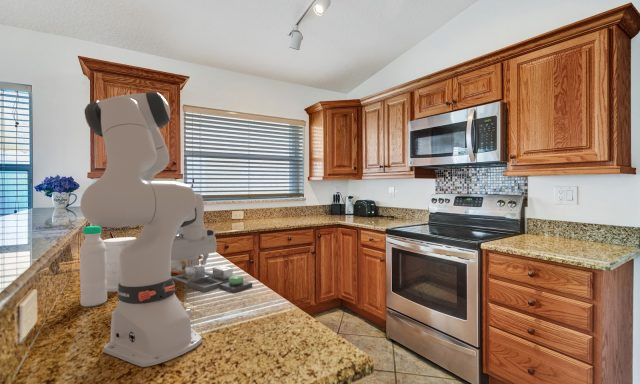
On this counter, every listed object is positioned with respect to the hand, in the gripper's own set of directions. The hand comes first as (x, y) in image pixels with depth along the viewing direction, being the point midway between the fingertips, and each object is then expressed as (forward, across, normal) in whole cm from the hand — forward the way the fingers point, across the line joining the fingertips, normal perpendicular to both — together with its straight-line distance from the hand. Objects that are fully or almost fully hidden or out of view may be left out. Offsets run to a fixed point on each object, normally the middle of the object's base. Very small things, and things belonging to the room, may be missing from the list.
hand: (192, 267), depth 125 cm
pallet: (+5, 0, -14) cm, 15 cm away
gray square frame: (+5, 0, -1) cm, 5 cm away
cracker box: (+6, +4, +13) cm, 15 cm away
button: (+4, +2, -25) cm, 25 cm away
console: (+5, +2, -25) cm, 25 cm away
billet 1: (+5, 0, -1) cm, 5 cm away
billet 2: (+4, +4, -14) cm, 15 cm away
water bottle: (+6, -32, +4) cm, 33 cm away
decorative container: (+6, -20, +15) cm, 26 cm away
